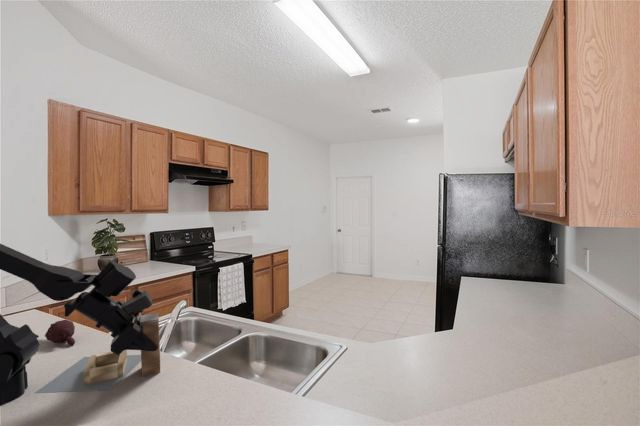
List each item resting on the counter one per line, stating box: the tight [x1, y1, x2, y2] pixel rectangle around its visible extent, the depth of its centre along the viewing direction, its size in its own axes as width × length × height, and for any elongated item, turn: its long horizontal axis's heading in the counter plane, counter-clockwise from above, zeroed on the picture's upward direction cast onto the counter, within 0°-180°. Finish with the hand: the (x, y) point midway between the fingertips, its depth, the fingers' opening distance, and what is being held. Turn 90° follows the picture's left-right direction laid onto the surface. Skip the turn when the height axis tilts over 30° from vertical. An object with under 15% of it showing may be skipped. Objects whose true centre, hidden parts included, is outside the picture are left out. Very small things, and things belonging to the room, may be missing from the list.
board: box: [34, 354, 141, 394], centre depth 79 cm, size 16×17×1 cm
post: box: [140, 312, 161, 378], centre depth 79 cm, size 4×5×15 cm
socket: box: [83, 350, 128, 385], centre depth 79 cm, size 8×9×3 cm
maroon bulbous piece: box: [44, 319, 76, 347], centre depth 98 cm, size 7×7×15 cm
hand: (156, 344), depth 80 cm, fingers closed on post, 5 cm apart
